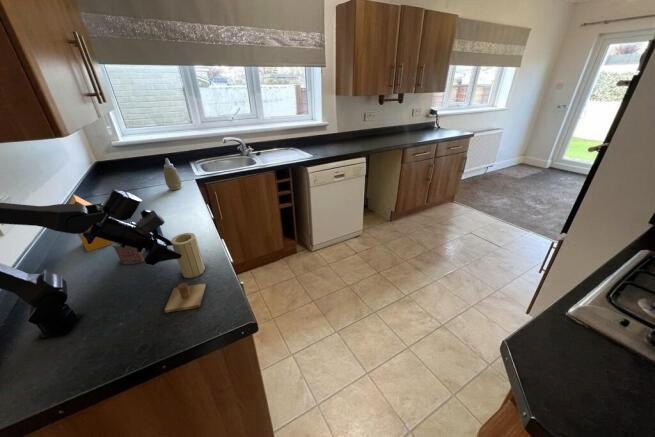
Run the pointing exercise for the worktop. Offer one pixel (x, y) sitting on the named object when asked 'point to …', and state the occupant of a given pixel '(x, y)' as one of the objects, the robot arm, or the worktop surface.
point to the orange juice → (96, 242)
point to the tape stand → (185, 297)
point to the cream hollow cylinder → (188, 255)
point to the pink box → (128, 254)
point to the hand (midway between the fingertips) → (176, 250)
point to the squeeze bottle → (171, 176)
